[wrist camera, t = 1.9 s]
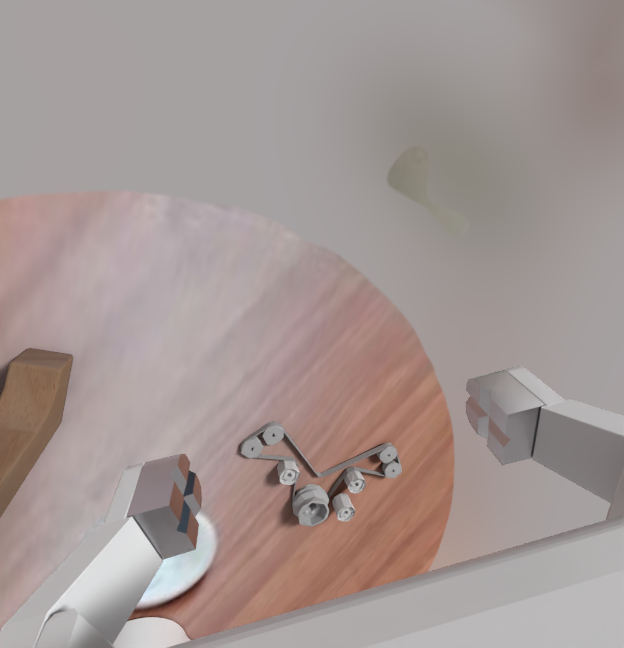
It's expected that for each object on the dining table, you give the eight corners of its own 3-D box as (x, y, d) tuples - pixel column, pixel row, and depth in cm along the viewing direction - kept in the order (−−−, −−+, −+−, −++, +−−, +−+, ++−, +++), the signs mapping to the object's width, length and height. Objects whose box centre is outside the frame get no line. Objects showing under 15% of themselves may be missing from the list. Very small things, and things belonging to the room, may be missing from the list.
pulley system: (370, 513, 63) (405, 442, 60) (382, 536, 59) (420, 461, 56) (218, 497, 54) (249, 412, 51) (218, 523, 50) (253, 432, 47)
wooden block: (27, 346, 39) (-93, 439, 23) (74, 353, 41) (-5, 445, 24) (15, 419, 41) (-104, 556, 24) (61, 423, 42) (-21, 554, 26)
